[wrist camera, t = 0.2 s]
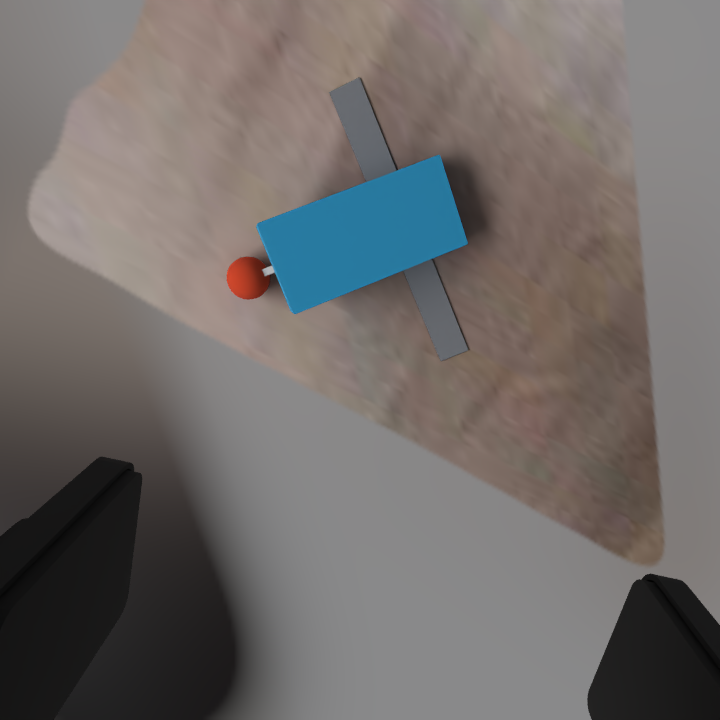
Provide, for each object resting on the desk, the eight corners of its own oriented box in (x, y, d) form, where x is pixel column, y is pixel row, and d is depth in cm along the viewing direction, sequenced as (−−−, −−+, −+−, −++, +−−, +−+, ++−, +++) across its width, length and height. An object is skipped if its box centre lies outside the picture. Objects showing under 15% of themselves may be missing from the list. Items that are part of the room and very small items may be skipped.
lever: (410, 169, 47) (211, 245, 44) (439, 154, 40) (206, 242, 38) (436, 246, 48) (245, 323, 46) (468, 244, 42) (246, 333, 39)
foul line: (329, 92, 41) (329, 92, 41) (359, 77, 41) (359, 77, 41) (440, 360, 47) (440, 361, 47) (468, 349, 46) (468, 350, 46)
